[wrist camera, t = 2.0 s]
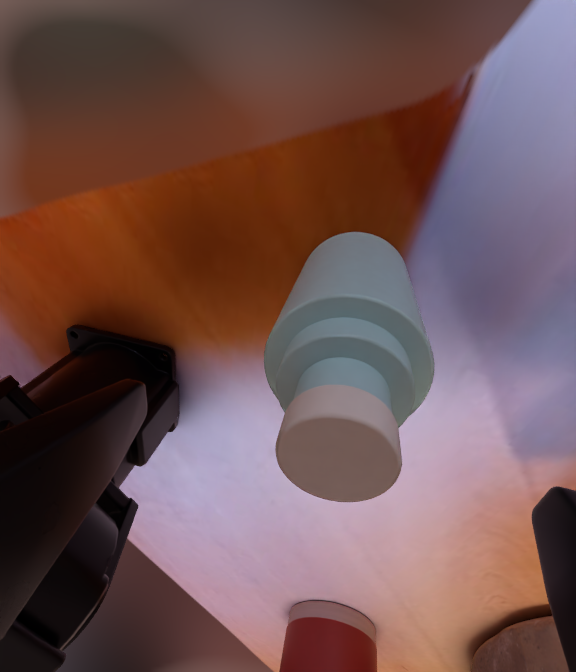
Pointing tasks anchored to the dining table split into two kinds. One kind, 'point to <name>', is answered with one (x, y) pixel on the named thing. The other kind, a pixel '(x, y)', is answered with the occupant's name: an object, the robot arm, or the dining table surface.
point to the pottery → (522, 649)
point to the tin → (328, 639)
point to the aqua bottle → (348, 368)
